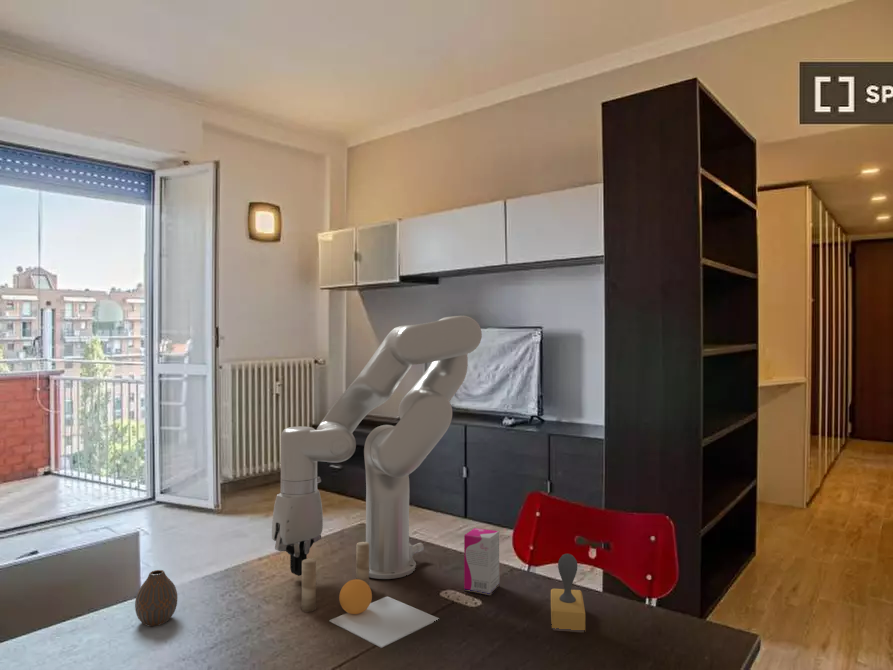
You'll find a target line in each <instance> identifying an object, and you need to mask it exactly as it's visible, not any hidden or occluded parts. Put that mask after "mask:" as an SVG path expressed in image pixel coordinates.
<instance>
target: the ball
mask: <svg viewBox="0 0 893 670" xmlns="http://www.w3.org/2000/svg"><path fill="white" fill-rule="evenodd" d="M372 593H373V592H372V589H371V587H370V584H369V585H368V584H367V583H366V582H364V581H363V580H359V579H356V578H355V579H350V580H348V581H347V582H346V583H345V584H343V586H342V587H341V589H340V592H339V595H338V597H339V598H338V599H339V603H340V607H341V608H342V610H344V611H345V613H350V614H359V613H362V612H364V611H365V610H366V609H367V608H368V607H369V605H370V603H372V599H373V594H372Z"/></svg>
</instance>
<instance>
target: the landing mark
mask: <svg viewBox="0 0 893 670" xmlns="http://www.w3.org/2000/svg"><path fill="white" fill-rule="evenodd" d="M438 619H439V620H440V618H439V617H437V616H434V615H432V614H430V613H427V612H426V611H423V610H421V609H418V608H415V607H413V606H411V605H408V604H407V603H404V602H402V601H400V600H396V599H394V598H392V597H390V596H384V597H382V598H380V599H378V600H375V601H373V602H372V601H371V603H370V605H369V607H368V608H367V609H366V610H365V611H364V612H362V613H359V614H350V613H348V612H345V613H343V614H342V615H339V616H337V617H334V618H332V619H330V620H329V619H328V620H329V623H332V624H334V625H335V626H338V627H339V628H342V629H343V630H345V631H348V632H350V633H351V634H353V635H355V636H357V637H359V638H361V639H363V640H364V641H366V642H369V643H370V644H373V645H374V646H377V647H379V648H380V649H382V648H384V647H387V646H388V645H391V644H392V643H394V642H396V641H399V640H401V639H403V638H405V637H406V636H409V635H410V634H414V633H415V632H417V631H419V630H421V629H423V628H426V627H427V626H429V625H431V624H433V623H435V622H436V620H437V621H439V620H438ZM434 621H435V622H434Z"/></svg>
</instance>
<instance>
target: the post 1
mask: <svg viewBox="0 0 893 670" xmlns="http://www.w3.org/2000/svg"><path fill="white" fill-rule="evenodd" d="M316 599H317V560H316V558H307V559H304V560H303V561H302V575H301V611H302V612H304V613H310V612H314V611H315V610H316V609H317V606H316V605H317V604H316V603H317V601H316Z"/></svg>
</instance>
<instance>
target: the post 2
mask: <svg viewBox="0 0 893 670" xmlns="http://www.w3.org/2000/svg"><path fill="white" fill-rule="evenodd" d="M355 550H356V551H355V553H356V555H355V556H356V557H355V558H356V559H355V579H359V580H363V581H364V582H366V583H367V584H368V585H369V586H370V577H369V543H368V542H366V541H359V542H357V543H356V546H355Z"/></svg>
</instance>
